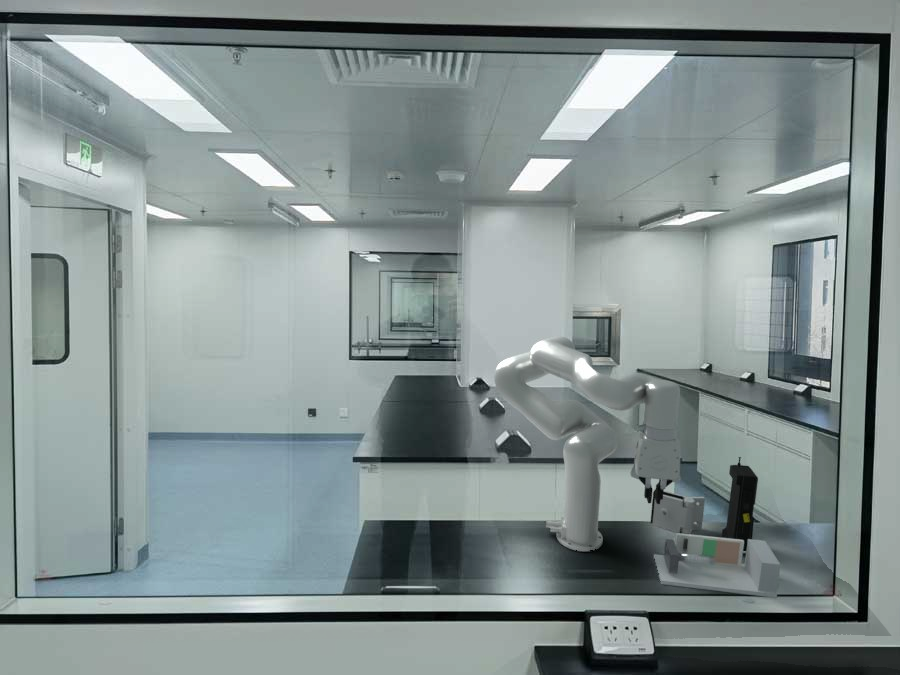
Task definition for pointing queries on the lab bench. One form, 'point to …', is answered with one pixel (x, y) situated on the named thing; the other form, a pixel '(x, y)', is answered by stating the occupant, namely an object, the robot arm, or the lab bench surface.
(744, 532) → the portable radio
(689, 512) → the hinge
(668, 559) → the plunger
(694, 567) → the stand
